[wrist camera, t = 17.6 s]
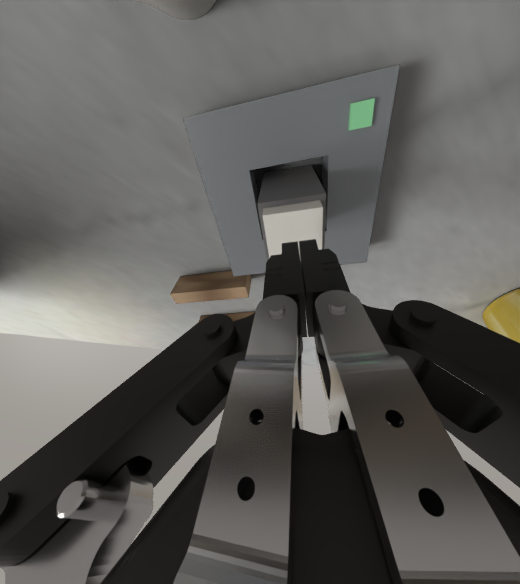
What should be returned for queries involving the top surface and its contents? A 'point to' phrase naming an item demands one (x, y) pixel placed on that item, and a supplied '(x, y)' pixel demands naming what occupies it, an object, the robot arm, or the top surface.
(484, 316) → the plant pot
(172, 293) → the pair of wooden planks
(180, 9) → the white lumpy box
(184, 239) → the top surface
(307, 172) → the plug
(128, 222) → the top surface
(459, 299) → the top surface
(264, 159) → the port
